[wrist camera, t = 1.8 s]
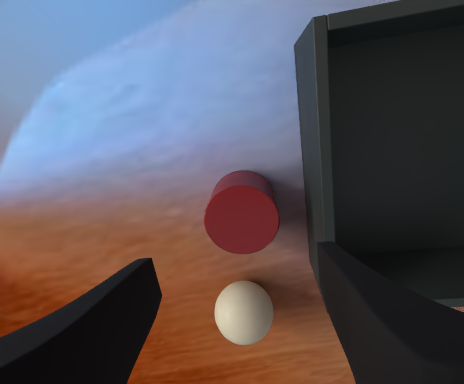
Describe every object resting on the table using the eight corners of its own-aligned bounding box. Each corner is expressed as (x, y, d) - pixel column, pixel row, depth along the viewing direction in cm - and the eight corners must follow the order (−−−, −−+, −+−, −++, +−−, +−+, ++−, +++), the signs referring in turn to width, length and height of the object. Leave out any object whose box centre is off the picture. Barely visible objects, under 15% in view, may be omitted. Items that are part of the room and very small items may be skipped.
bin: (541, -1, 14) (702, -60, 9) (498, 245, 19) (589, 299, 14) (293, 44, 16) (312, 17, 11) (309, 261, 21) (327, 314, 15)
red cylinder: (271, 166, 19) (275, 180, 15) (278, 226, 20) (282, 251, 17) (207, 174, 19) (197, 190, 16) (218, 232, 21) (211, 257, 17)
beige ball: (268, 266, 21) (271, 307, 17) (274, 311, 22) (278, 358, 18) (214, 271, 22) (205, 311, 18) (223, 314, 23) (216, 361, 19)
